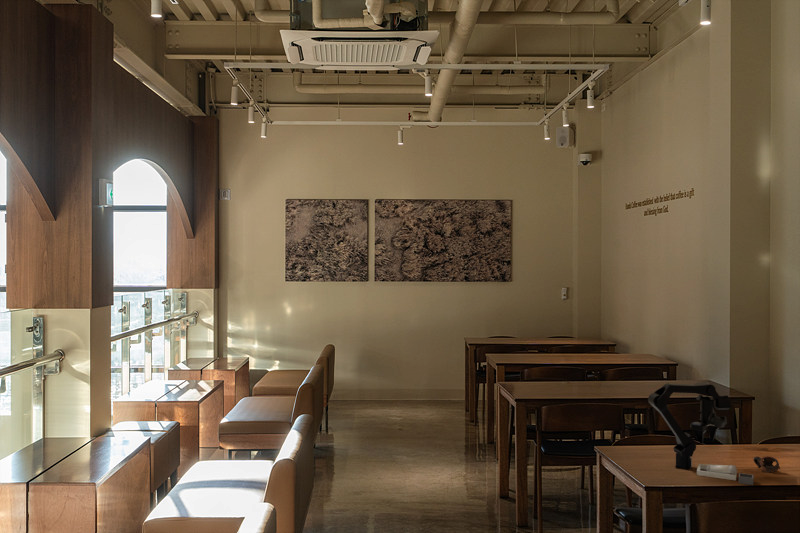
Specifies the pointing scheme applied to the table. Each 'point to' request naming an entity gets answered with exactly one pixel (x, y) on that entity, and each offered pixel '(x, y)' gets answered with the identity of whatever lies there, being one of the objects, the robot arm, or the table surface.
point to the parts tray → (713, 474)
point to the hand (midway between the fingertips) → (706, 442)
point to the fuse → (722, 469)
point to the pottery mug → (766, 464)
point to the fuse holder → (745, 479)
